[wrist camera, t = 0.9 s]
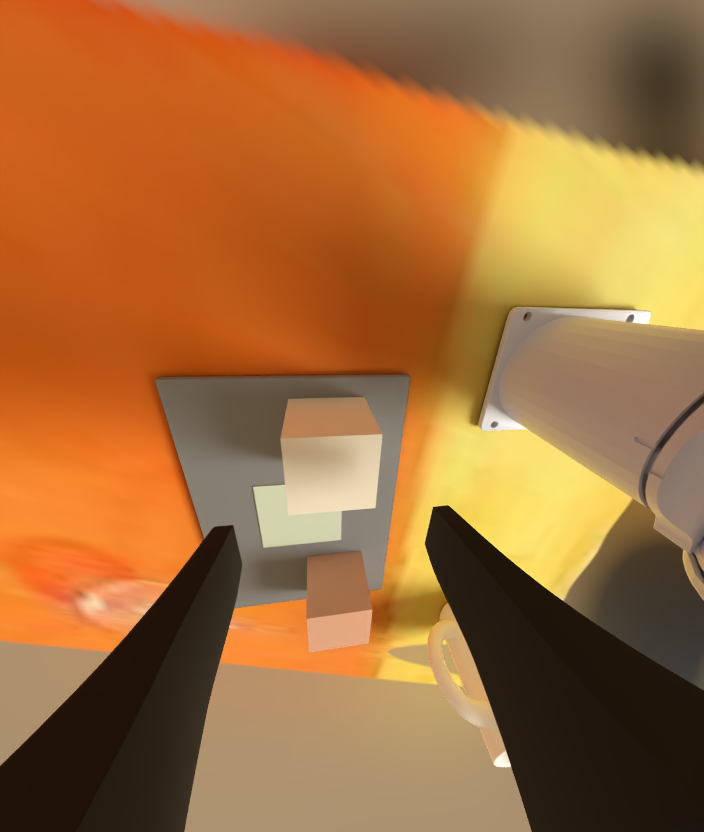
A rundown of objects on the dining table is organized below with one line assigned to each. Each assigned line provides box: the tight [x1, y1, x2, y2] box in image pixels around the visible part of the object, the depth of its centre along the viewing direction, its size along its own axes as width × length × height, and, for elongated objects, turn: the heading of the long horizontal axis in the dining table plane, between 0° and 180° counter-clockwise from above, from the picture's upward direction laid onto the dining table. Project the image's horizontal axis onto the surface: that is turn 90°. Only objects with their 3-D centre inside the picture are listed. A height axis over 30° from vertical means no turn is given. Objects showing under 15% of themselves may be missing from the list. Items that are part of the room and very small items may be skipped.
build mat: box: [155, 374, 410, 608], centre depth 19 cm, size 14×21×1 cm, turn 178°
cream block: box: [280, 397, 383, 515], centre depth 14 cm, size 4×4×4 cm
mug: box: [428, 602, 511, 767], centre depth 25 cm, size 12×8×10 cm
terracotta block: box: [307, 551, 373, 653], centre depth 21 cm, size 4×4×4 cm
